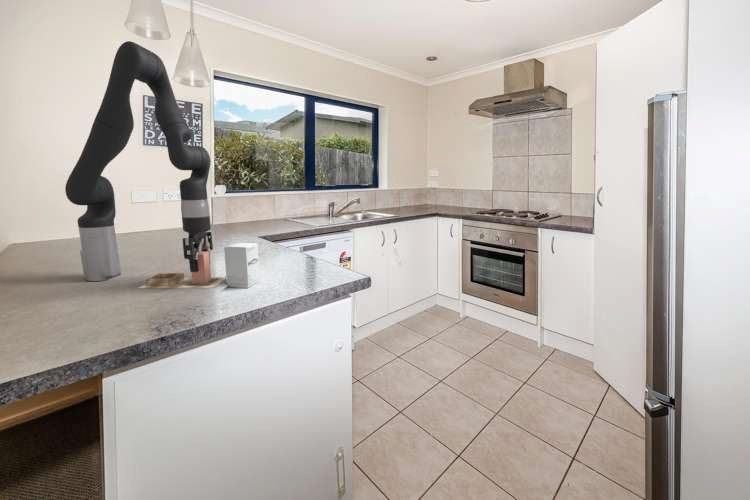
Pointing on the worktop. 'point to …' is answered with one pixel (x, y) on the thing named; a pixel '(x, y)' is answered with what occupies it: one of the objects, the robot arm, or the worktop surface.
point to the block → (202, 268)
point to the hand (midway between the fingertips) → (200, 268)
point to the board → (178, 281)
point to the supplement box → (242, 265)
